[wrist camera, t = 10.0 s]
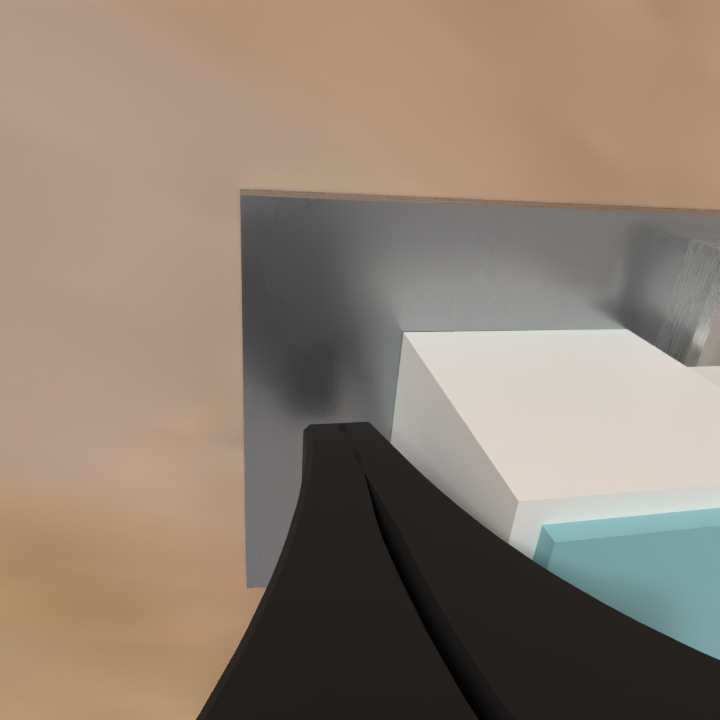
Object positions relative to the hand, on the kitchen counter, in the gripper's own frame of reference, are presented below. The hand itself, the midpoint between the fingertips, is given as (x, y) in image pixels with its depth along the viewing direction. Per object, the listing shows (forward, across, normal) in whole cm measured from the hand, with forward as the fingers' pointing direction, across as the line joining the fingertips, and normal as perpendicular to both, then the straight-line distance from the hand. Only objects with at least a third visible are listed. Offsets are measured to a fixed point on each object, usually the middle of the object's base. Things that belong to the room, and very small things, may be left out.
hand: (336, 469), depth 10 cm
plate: (+2, -4, 0) cm, 5 cm away
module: (+2, -4, 0) cm, 4 cm away
